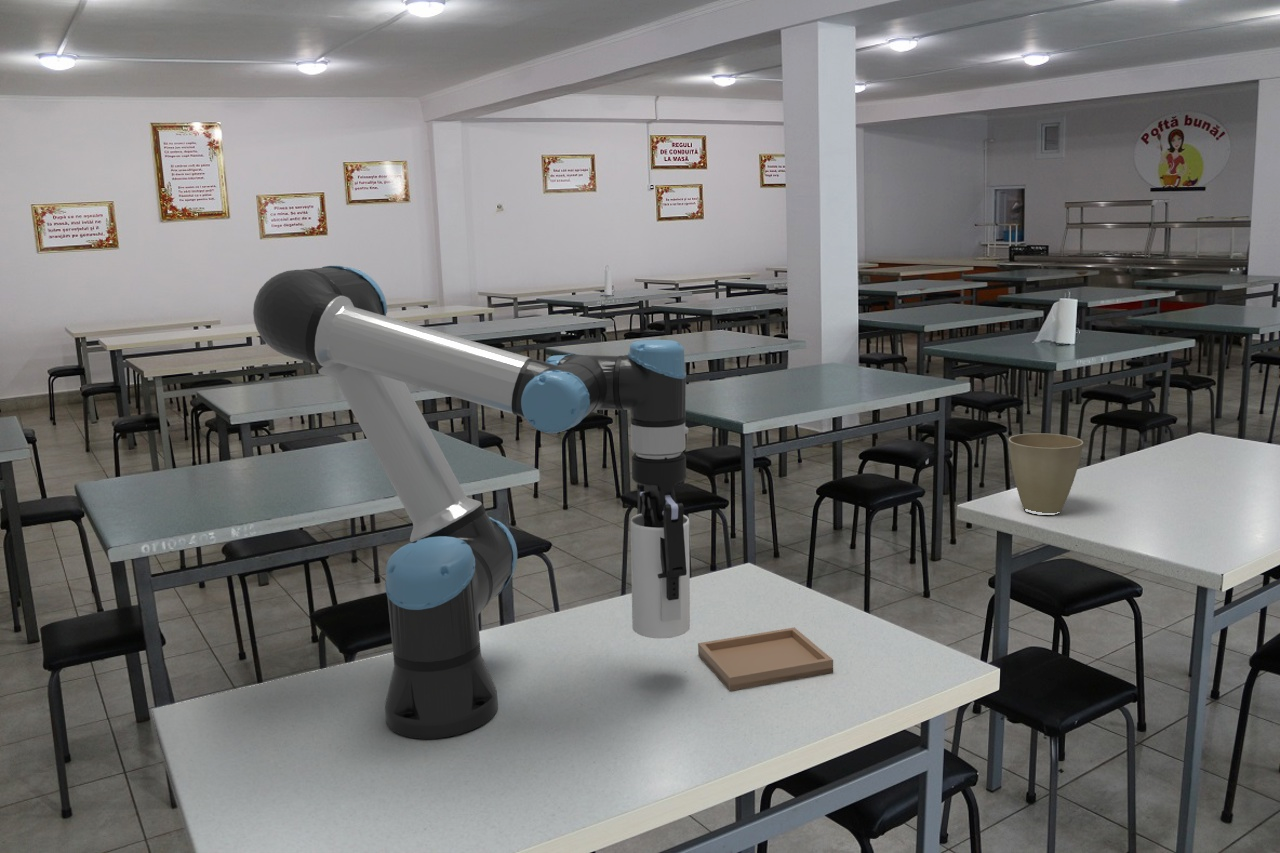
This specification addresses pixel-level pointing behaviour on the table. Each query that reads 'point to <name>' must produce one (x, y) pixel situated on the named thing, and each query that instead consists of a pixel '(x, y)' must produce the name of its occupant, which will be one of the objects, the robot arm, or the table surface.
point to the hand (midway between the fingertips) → (660, 608)
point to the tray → (764, 658)
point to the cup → (654, 582)
